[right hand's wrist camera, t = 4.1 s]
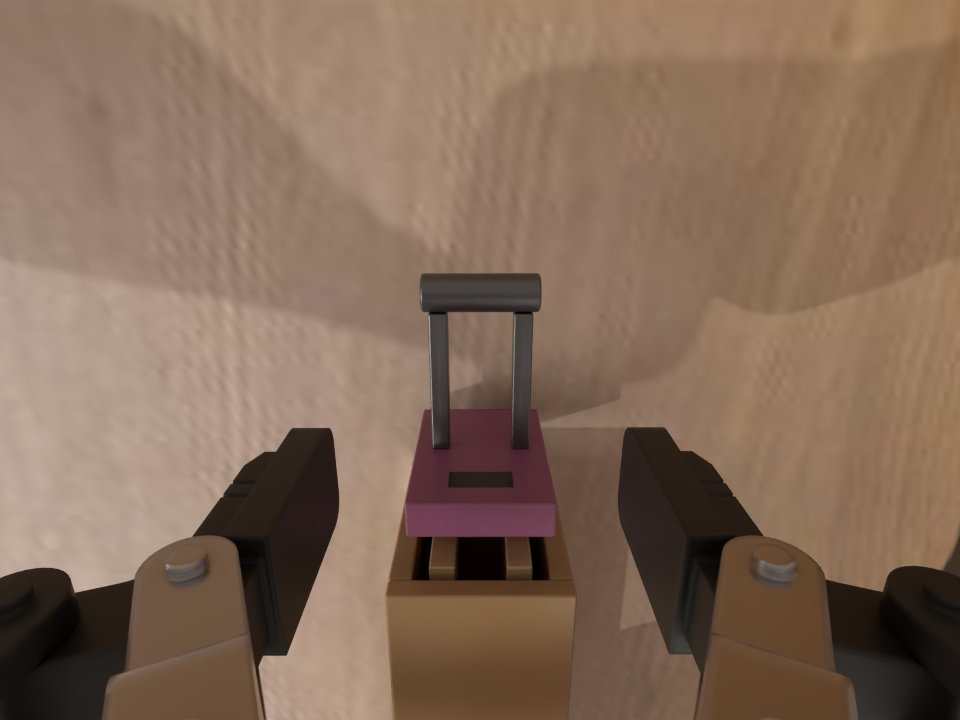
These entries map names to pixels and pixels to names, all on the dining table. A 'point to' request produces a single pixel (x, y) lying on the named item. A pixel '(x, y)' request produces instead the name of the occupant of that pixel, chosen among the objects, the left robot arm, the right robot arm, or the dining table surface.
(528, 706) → the cabinet
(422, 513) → the drawer
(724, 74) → the dining table surface
